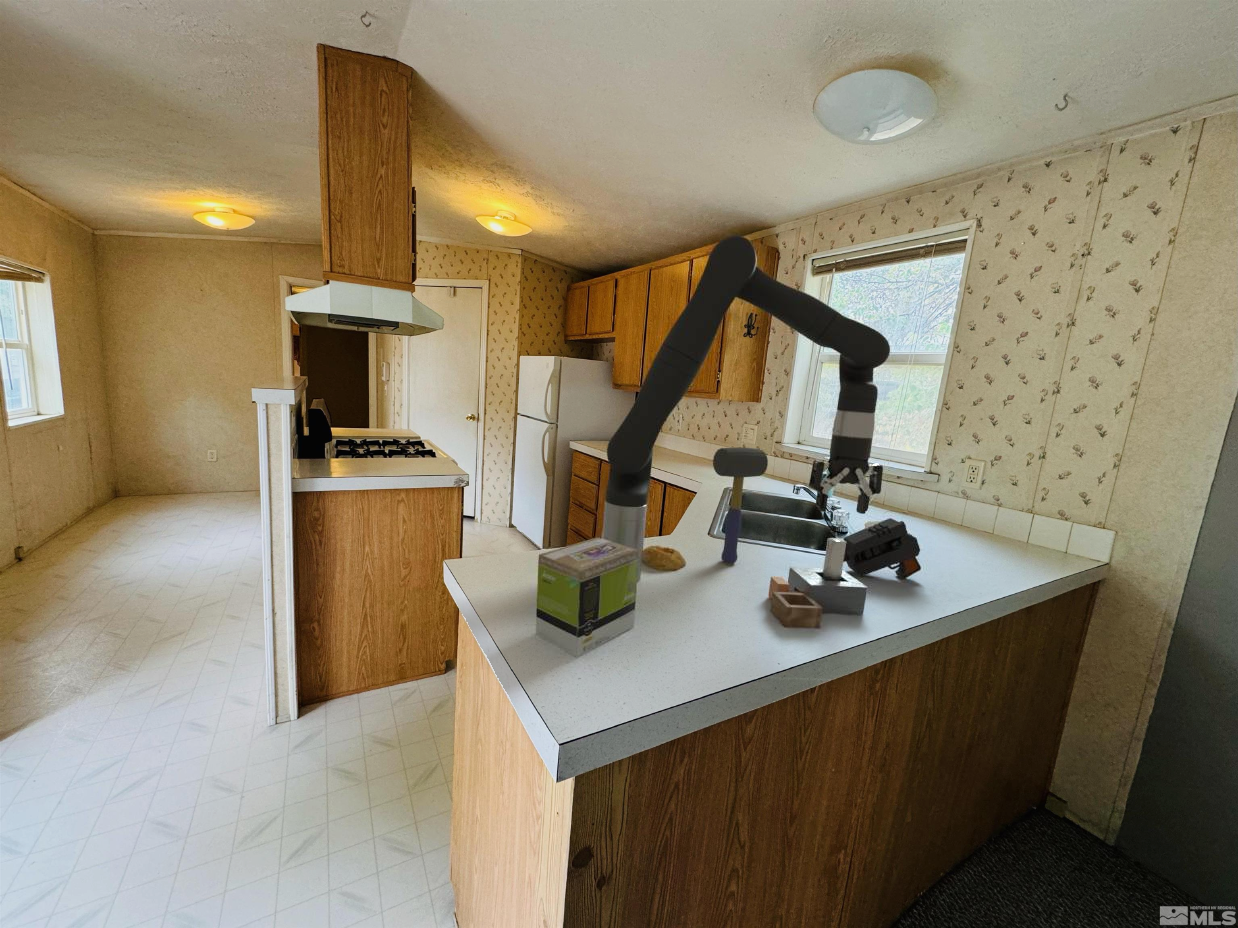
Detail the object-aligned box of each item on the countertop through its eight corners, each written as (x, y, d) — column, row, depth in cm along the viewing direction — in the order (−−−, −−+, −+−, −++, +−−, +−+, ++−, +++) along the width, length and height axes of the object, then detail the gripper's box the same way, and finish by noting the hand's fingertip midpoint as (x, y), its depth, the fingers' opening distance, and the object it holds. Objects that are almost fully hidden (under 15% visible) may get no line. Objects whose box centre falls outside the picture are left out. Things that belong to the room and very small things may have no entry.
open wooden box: (784, 626, 93) (787, 606, 92) (770, 610, 100) (772, 591, 99) (819, 628, 93) (822, 608, 93) (803, 611, 100) (805, 593, 100)
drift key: (775, 603, 102) (778, 583, 102) (768, 595, 106) (770, 576, 106) (818, 605, 103) (821, 585, 102) (810, 597, 107) (812, 578, 106)
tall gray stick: (823, 606, 103) (833, 542, 101) (815, 599, 107) (824, 537, 105) (839, 607, 104) (849, 543, 102) (831, 600, 107) (840, 538, 105)
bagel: (688, 574, 117) (690, 555, 116) (642, 571, 116) (644, 552, 115) (681, 560, 126) (683, 542, 126) (639, 557, 126) (640, 539, 125)
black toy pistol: (930, 573, 122) (910, 518, 120) (856, 601, 123) (835, 548, 121) (916, 564, 128) (897, 512, 126) (845, 591, 129) (826, 541, 127)
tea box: (593, 609, 94) (598, 534, 92) (635, 628, 88) (642, 549, 85) (532, 636, 82) (537, 551, 80) (575, 660, 76) (582, 569, 74)
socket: (806, 612, 100) (810, 584, 99) (786, 592, 110) (789, 566, 109) (862, 614, 101) (867, 587, 100) (837, 594, 111) (841, 569, 110)
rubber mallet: (716, 570, 120) (730, 448, 115) (699, 560, 127) (712, 444, 122) (757, 567, 125) (772, 450, 120) (739, 557, 132) (752, 445, 127)
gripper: (828, 433, 96) (817, 514, 98) (897, 438, 97) (884, 518, 99) (810, 430, 103) (800, 505, 105) (874, 434, 104) (863, 509, 107)
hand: (841, 511), depth 102 cm, fingers open, 8 cm apart
